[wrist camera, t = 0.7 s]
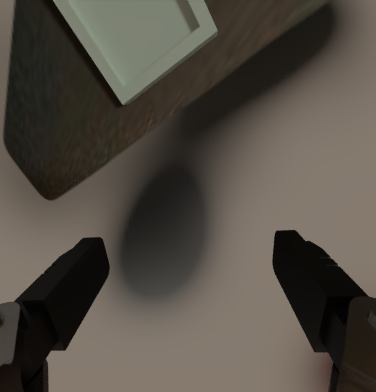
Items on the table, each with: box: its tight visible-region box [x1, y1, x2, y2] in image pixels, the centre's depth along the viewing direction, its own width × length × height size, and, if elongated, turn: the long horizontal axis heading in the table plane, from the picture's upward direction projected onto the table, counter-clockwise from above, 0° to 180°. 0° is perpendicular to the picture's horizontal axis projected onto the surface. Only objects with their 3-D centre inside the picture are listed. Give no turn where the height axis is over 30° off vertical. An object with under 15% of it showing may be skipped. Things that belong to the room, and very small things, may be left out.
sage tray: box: [53, 0, 218, 105], centre depth 24 cm, size 15×15×2 cm
